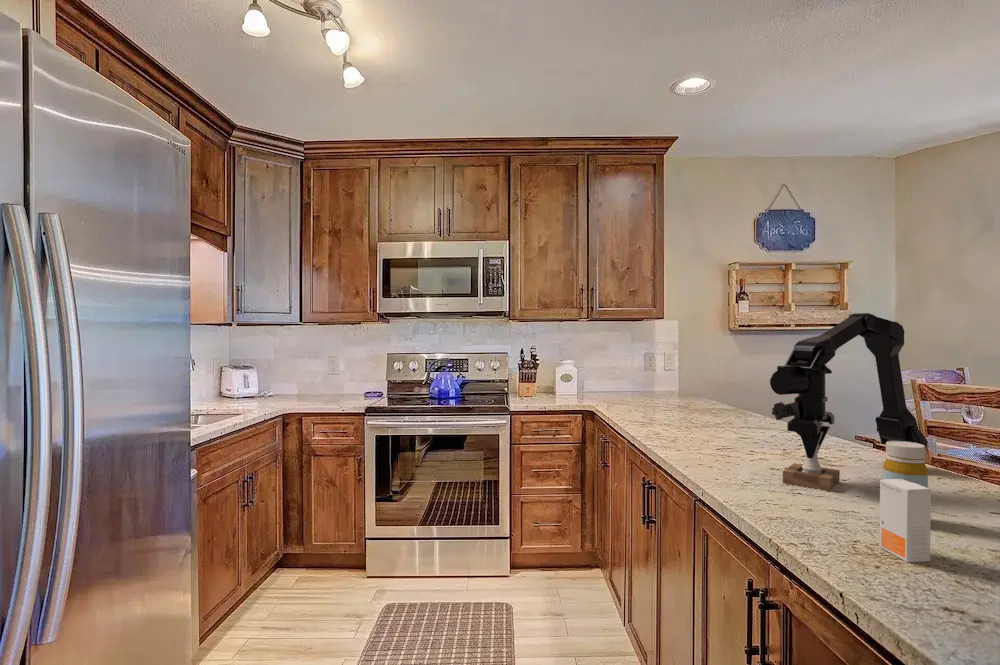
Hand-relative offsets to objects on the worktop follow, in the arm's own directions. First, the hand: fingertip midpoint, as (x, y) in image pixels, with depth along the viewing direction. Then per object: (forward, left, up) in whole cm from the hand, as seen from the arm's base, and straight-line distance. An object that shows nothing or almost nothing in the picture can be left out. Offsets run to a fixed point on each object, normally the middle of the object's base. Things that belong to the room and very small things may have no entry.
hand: (811, 456), depth 132 cm
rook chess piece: (0, 0, -5) cm, 5 cm away
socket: (0, 0, -6) cm, 6 cm away
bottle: (+16, +20, -7) cm, 26 cm away
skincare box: (+36, +22, -7) cm, 43 cm away
